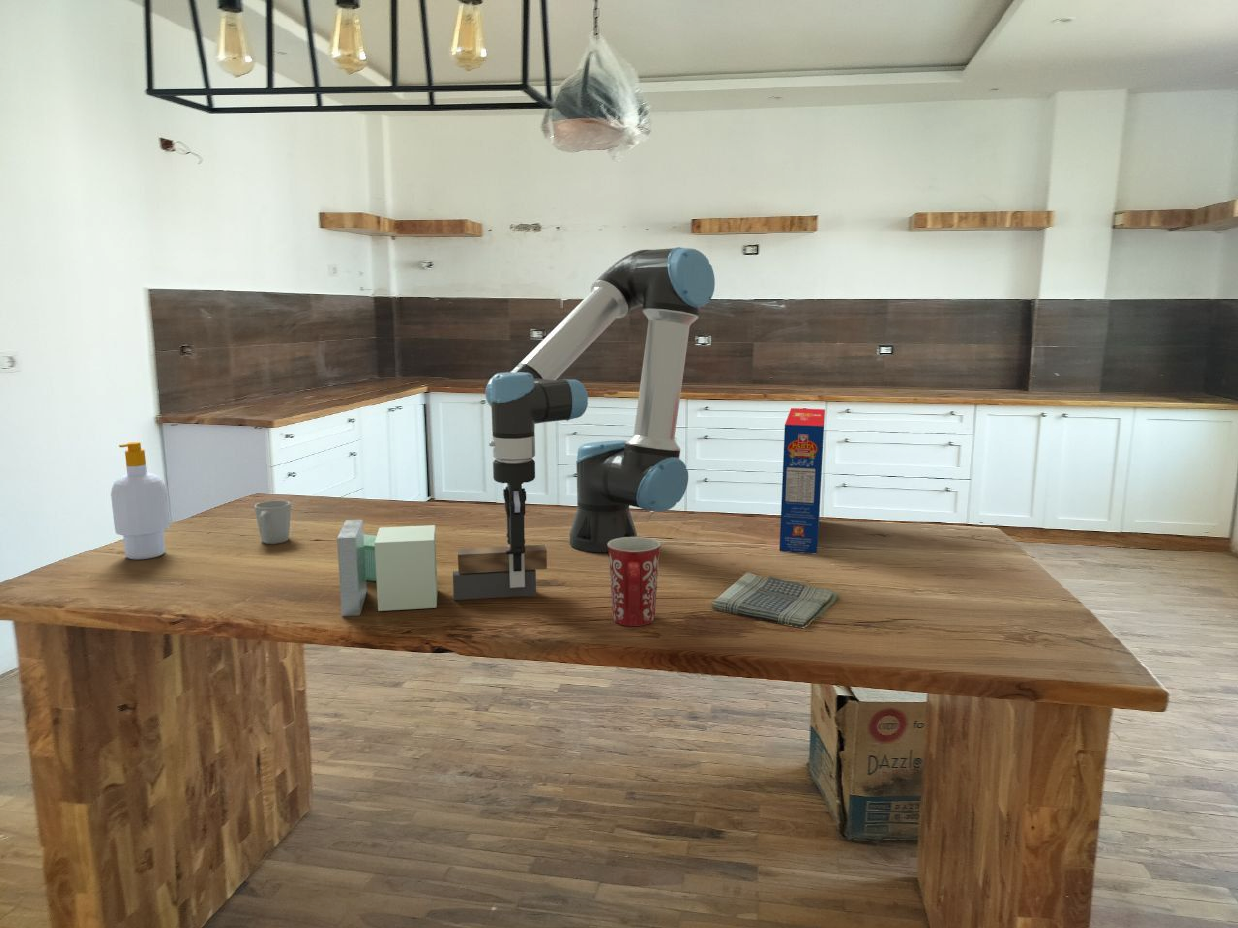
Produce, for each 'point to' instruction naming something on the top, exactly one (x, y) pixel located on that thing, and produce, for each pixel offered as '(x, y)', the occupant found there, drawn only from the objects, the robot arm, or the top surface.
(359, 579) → the grey base plate
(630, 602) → the mug
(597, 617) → the top surface
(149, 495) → the soap bottle
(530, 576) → the rubber rail
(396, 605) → the block
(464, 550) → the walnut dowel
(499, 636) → the top surface
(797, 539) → the pasta box
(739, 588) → the dish towel
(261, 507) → the cup
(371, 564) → the box
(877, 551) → the top surface
